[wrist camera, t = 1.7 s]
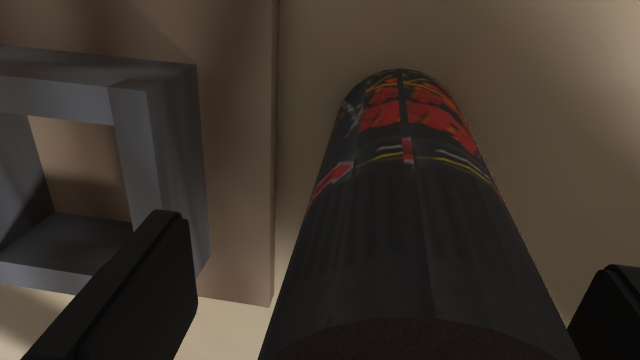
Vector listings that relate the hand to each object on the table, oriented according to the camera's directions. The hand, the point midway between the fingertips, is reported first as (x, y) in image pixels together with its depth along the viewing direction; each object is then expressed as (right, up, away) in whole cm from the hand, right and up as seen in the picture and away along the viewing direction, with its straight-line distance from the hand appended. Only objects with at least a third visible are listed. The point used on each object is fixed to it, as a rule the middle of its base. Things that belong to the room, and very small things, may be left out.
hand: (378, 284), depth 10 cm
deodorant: (+2, +5, +11) cm, 12 cm away
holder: (-13, +4, +13) cm, 19 cm away
